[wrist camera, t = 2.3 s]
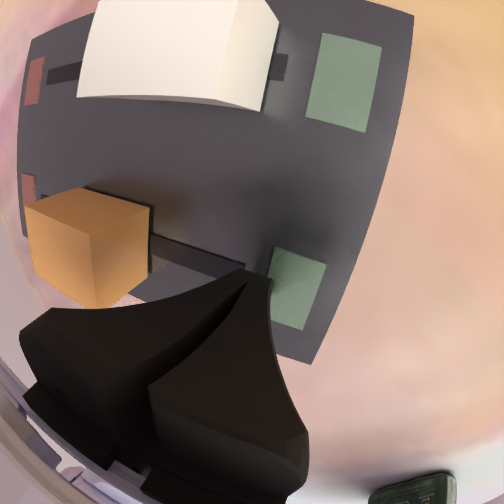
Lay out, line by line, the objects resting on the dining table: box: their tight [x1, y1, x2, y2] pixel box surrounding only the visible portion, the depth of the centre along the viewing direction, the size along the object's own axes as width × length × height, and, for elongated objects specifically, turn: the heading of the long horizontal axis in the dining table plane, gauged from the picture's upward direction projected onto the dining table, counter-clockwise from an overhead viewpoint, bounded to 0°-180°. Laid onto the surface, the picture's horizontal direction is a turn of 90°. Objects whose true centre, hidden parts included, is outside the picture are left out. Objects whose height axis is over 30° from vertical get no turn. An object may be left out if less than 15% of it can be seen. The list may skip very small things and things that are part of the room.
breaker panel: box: [17, 0, 414, 365], centre depth 12 cm, size 15×22×2 cm
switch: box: [77, 0, 279, 112], centre depth 7 cm, size 4×5×4 cm
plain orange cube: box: [24, 187, 149, 309], centre depth 11 cm, size 4×5×4 cm
